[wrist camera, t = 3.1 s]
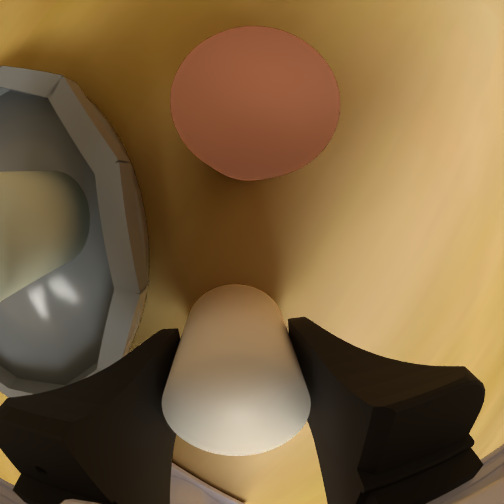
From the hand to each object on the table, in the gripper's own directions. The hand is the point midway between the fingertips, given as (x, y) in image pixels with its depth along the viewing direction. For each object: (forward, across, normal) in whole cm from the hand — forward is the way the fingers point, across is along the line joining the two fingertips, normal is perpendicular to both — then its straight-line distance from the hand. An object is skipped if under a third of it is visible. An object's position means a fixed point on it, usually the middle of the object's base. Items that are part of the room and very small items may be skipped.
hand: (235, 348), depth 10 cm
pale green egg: (+1, +7, -6) cm, 9 cm away
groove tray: (+2, +12, -5) cm, 13 cm away
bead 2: (+2, 0, 0) cm, 2 cm away
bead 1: (+2, -1, -8) cm, 8 cm away
